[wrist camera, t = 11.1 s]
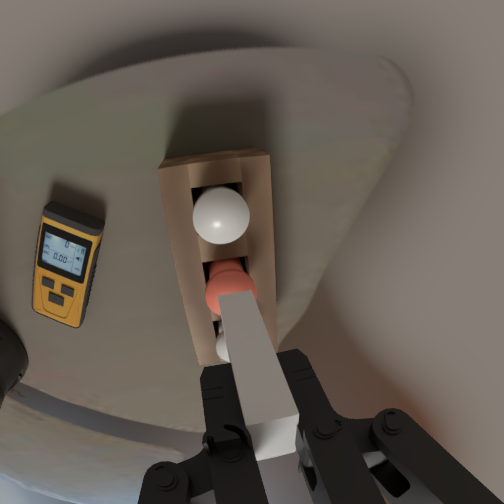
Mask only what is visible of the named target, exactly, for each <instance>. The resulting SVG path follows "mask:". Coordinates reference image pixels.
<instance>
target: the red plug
mask: <svg viewBox="0 0 504 504" xmlns="http://www.w3.org/2000/svg"><path fill="white" fill-rule="evenodd" d="M208 268H209V276H210V279H209V281H208V282H207V284H206V288H205V296H206V302H207V305H208V307H209V308H210V309H211V310H212V311H213V312H214V313H216V314H218V315H221V313H220V307H219V301H218V295H224V294H230V293H236V292H242V291H248V290H252V293H253V295H254V298H255V301H256V297H257V291H256V287H255V284H254V282H253V280H252V278H251V277H250V276H249V275H248V274H247V273H246V272H244V271H243V268H242V265H241V262H240V259H239V257H235V258H228V259H222V260H215V261H208Z"/></svg>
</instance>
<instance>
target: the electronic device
mask: <svg viewBox="0 0 504 504" xmlns="http://www.w3.org/2000/svg"><path fill="white" fill-rule="evenodd" d="M104 225H105V222H104V221H102V220H100V219H97V218H94V217H92V216H89V215H87V214H84V213H81V212H79V211H76V210H74V209H71V208H68V207H66V206H63V205H61V204H58V203H55V202H50V203H49V204H47V205H46V206H45V207H44V209H43V217H42V222H41V225H40V227H39V232H38V239H37V246H36V251H35V253H36V254H35V261H34V271H33V272H34V274H33V284H32V285H33V288H32V308H33V310H34V311H35V312H37V313H38V314H41V315H43V316H45V317H48V318H50V319H53V320H55V321H57V322H60V323H62V324H65V325H67V326H70V327H73V328H79V327H80V326H81V325H82V323H83V320H84V318H85V312H86V307H87V305H88V302H89V301H88V300H89V296H90V291H91V286H92V282H93V277H94V273H95V268H96V260H97V256H98V252H99V248H100V245H101V243H100V239H101V235H102V232H103V228H104Z"/></svg>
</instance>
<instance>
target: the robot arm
mask: <svg viewBox="0 0 504 504" xmlns="http://www.w3.org/2000/svg"><path fill="white" fill-rule="evenodd" d="M218 301H219V307H220V313H221V319H222V325H223V331H224V337H225V342H226V347H227V352H228V357H229V361H230V363H227V364H221V365H215V366H208V367H204V369H203V372H202V374H201V377H200V383H201V391H202V400H203V408H204V416H205V423H206V432H205V433H204V435H203V441H202V444H203V446H204V448H203V450H202V451H201V452H200V453H199V454H198V455H196V456H194V457H192V458H190V459H188V460H185V461H183V462H180V463H178V464H176V463H173V462H170V461H166V462H159V463H156V464H153V465H152V466H151V467H150V468H149V469H147V471H146V473H145V475H144V479H143V483H142V487H141V491H140V496H139V500H138V504H269V503H268V499H267V496H266V493H265V489H264V486H263V482H262V478H261V475H260V471H259V468H258V464H257V460H262V459H267V458H271V457H276V456H280V455H284V454H288V453H292V452H295V450H296V449H297V452H298V454H299V457H300V459H299V465H298V471H299V473H300V472H302V473H303V476H304V478H305V481H306V484H307V487H308V490H309V492H310V495H311V498H312V501H313V503H314V504H386V502H385V501H384V498H383V496H382V495H381V493H382V494H383V495H384V496H385V497H386V498H387V499H388V500H389V502H390V503H391V504H504V503H503V502H502V501H501V500H500V499H498V498H497V497H496V496H495V495H494V494H493V493H492V492H491V491H490V490H489V489H487V488H486V487H485V486H484V485H483V484H482V483H481V482H480V481H479V480H478V479H477V478H475V477H474V476H473V475H472V474H471V473H470V472H469V471H468V470H467V469H466V468H465V467H463V466H462V465H461V464H460V463H459V462H458V461H457V460H456V459H455V458H454V457H453V456H451V455H450V454H449V453H448V452H447V451H446V450H445V449H444V448H443V447H442V446H441V445H440V444H439V443H438V442H436V441H435V440H434V439H433V438H432V437H431V436H430V435H429V434H428V433H427V432H426V431H425V430H424V429H423V428H421V427H420V426H419V425H418V424H417V423H416V422H415V421H414V420H413V419H412V418H411V417H410V416H409V415H408V414H406V413H405V412H403V411H402V410H399V409H394V408H391V409H385V410H383V411H381V412H379V413H378V414H377V415H376V416H375V418H368V419H348V418H345V417H342V416H340V415H339V414H337V413H336V412H335V411H334V410H333V408H332V407H331V405H330V403H329V401H328V399H327V397H326V394H325V392H324V390H323V388H322V386H321V384H320V382H319V380H318V378H317V377H316V374H315V372H314V370H313V369H312V366H311V364H310V362H309V360H308V358H307V356H306V355H304V354H303V353H302V352H301V351H300V350H298V349H293V350H289V351H284V352H280V353H275V350H274V348H273V345H272V343H271V340H270V337H269V335H268V332H267V330H266V327H265V324H264V322H263V319H262V316H261V314H260V311H259V308H258V306H257V303H256V301H255V298H254V295H253V293H252V290H248V291H242V292H236V293H230V294H224V295H218ZM27 367H28V357H27V353H26V351H25V349H24V347H23V345H22V343H21V342H20V340H19V339H18V337H17V336H16V335H15V334H14V332H13V331H12V330H11V329H10V328H9V327H8V326H7V325H6V324H5V323H3V322H2V321H1V320H0V408H1V405H2V402H3V400H4V397H5V395H6V394H7V393H8V392H9V391H10V390H11V389H12V388H13V387H14V386H15V385H16V384H17V383H18V382H19V381H20V380H21V379H22V378H23V376H24V374H25V372H26V370H27Z"/></svg>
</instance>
